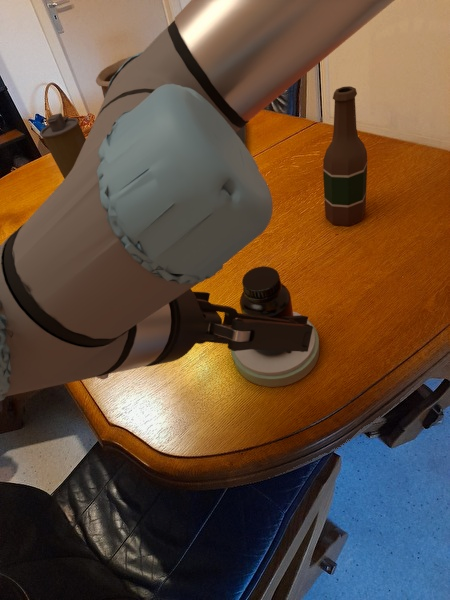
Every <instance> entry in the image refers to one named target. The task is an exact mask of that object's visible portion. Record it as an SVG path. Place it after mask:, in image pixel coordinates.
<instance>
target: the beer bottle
mask: <svg viewBox="0 0 450 600" xmlns="http://www.w3.org/2000/svg"><path fill="white" fill-rule="evenodd" d="M357 95H358V92H357V89H356V88H355V87H353V86H349V85H348V86H341V87H338V88H336V89H335V91H334V92H333V96H332V100H334V110H333V133H332V138H331V142H330V144H329V145H328V147H327V148H326V150H325V153H324V157H323V163H322V164H323V166H322V177H323V196H324V200H323V201H324V213H325V215H324V216H325V218H326V219H327V220H328V222H330V223H331V224H332V225H333V226H342V227H351V226H353V225H355V224H357V223H360V222H362V220H363V218H364V216H365V212H366V207H367V183H368V182H367V181H368V180H367V179H368V151H367V149H366V146H365V143H364V142H363V141H362V140H361V138H360V137H359V135H358V129H357V112H356V111H357V110H356V109H357V108H356V97H357Z"/></svg>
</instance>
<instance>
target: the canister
mask: <svg viewBox="0 0 450 600" xmlns="http://www.w3.org/2000/svg"><path fill="white" fill-rule="evenodd" d="M46 122H47V124H48V125H46V126H45V127H43V128H42V129H41V130H40V131H39V136H40V137H42V140H43V141H44V144H45V145H46V147H47V149H48V151H49V152H50V155H51V156H52V159H53V160H54V162H55V164H56V167H58V170H59V172H60V173H61V175H62V177H63V180H64V179H65V178H66V177H67V175H68V174H69V173H70V171H71V170H72V168H73V167H74V165H75V162H76V160H77V158H78V156H79V154H80V151H81V149H82V147H83V145H84V143H85V141H86V139H87V137H86V136H85V134H84V132H83V129H82V127H81V125H80V121H79V119H78V118H76V117H69V116H63V114H62V113H61V112H60V113H55V114H51V115H49V117H48V119H46Z"/></svg>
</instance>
